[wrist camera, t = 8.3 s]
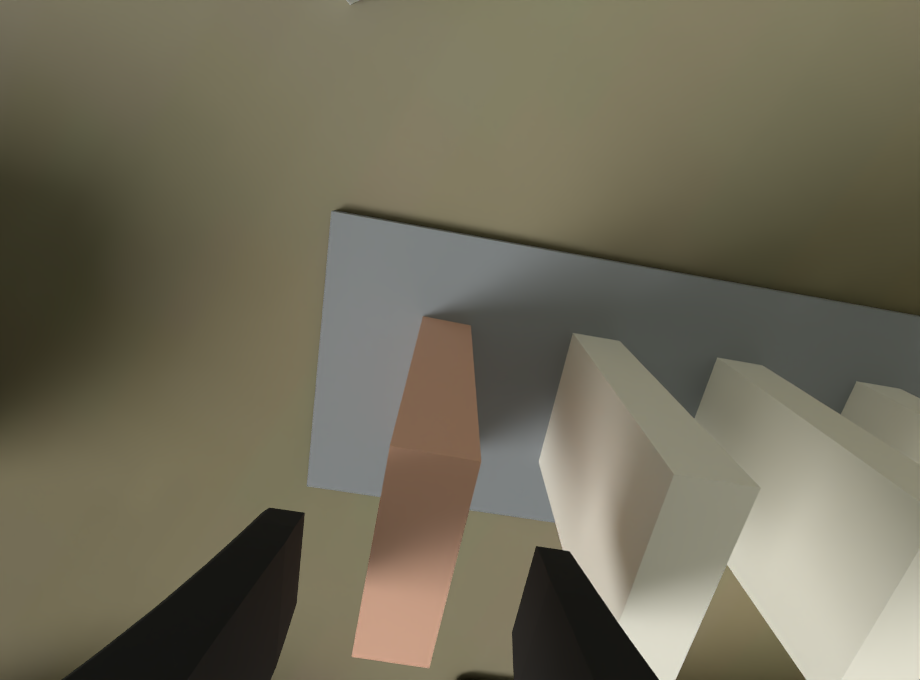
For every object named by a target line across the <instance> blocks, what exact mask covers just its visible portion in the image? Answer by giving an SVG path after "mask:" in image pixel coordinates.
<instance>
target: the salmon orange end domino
mask: <svg viewBox="0 0 920 680" xmlns="http://www.w3.org/2000/svg"><path fill="white" fill-rule="evenodd" d="M480 465H481V450H480V437H479V424H478V411H477V398H476V386H475V373H474V360H473V347H472V334H471V325H466V324H461V323H456V322H451V321H446V320H441V319H435V318H430V317H425V316H423V318H422V322H421V325H420V329H419V333H418V337H417V341H416V345H415V349H414V353H413V357H412V361H411V365H410V369H409V373H408V376H407V380H406V384H405V388H404V392H403V396H402V400H401V404H400V408H399V412H398V416H397V420H396V424H395V427H394V431H393V435H392V439H391V443H390V448H389V453H388V459H387V464H386V470H385V475H384V481H383V486H382V492H381V497H380V503H379V508H378V514H377V520H376V525H375V531H374V536H373V542H372V547H371V553H370V558H369V564H368V569H367V575H366V580H365V586H364V591H363V597H362V602H361V608H360V614H359V619H358V625H357V630H356V636H355V641H354V647H353V652H352V657H356V658H363V659H370V660H377V661H384V662H390V663H397V664H404V665H411V666H418V667H424V668H429V667H430V663H431V659H432V655H433V651H434V647H435V643H436V639H437V635H438V631H439V627H440V623H441V619H442V615H443V611H444V607H445V604H446V600H447V596H448V592H449V588H450V584H451V580H452V576H453V572H454V568H455V564H456V560H457V556H458V552H459V548H460V544H461V540H462V536H463V532H464V528H465V525H466V521H467V517H468V513H469V509H470V505H471V501H472V497H473V493H474V489H475V485H476V481H477V477H478V473H479V469H480Z"/></svg>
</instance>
